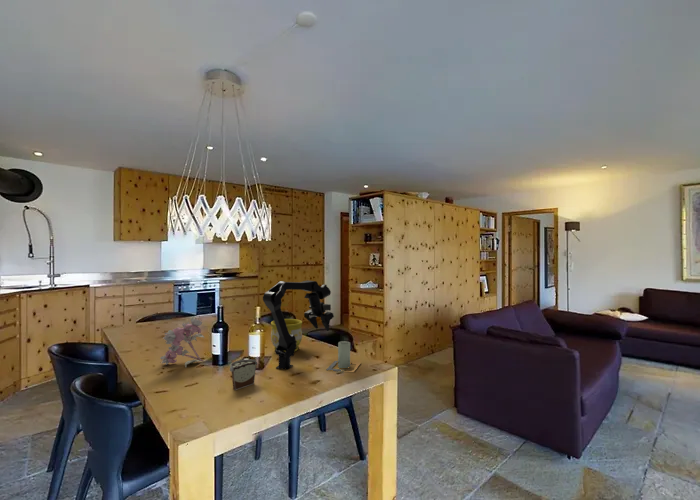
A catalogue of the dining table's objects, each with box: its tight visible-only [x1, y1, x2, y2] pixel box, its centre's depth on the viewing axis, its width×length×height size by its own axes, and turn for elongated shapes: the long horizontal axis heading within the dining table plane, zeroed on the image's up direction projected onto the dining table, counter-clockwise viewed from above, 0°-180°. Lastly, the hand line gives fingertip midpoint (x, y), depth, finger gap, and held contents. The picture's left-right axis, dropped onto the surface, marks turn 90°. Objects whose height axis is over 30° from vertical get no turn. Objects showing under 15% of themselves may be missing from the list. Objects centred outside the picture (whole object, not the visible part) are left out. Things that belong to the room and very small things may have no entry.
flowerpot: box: [270, 318, 303, 352], centre depth 206 cm, size 18×18×16 cm
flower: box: [159, 315, 205, 368], centre depth 180 cm, size 20×22×25 cm
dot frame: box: [325, 360, 342, 372], centre depth 177 cm, size 14×14×1 cm
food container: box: [229, 358, 258, 391], centre depth 152 cm, size 12×6×10 cm, turn 141°
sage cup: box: [337, 340, 351, 369], centre depth 177 cm, size 6×6×12 cm
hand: (322, 329), depth 193 cm, fingers open, 9 cm apart
